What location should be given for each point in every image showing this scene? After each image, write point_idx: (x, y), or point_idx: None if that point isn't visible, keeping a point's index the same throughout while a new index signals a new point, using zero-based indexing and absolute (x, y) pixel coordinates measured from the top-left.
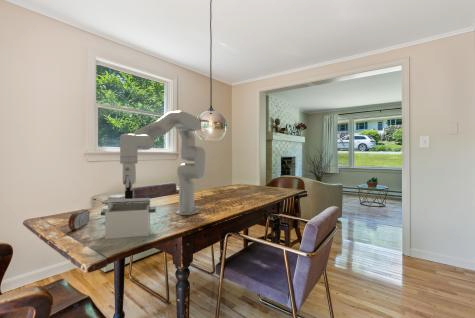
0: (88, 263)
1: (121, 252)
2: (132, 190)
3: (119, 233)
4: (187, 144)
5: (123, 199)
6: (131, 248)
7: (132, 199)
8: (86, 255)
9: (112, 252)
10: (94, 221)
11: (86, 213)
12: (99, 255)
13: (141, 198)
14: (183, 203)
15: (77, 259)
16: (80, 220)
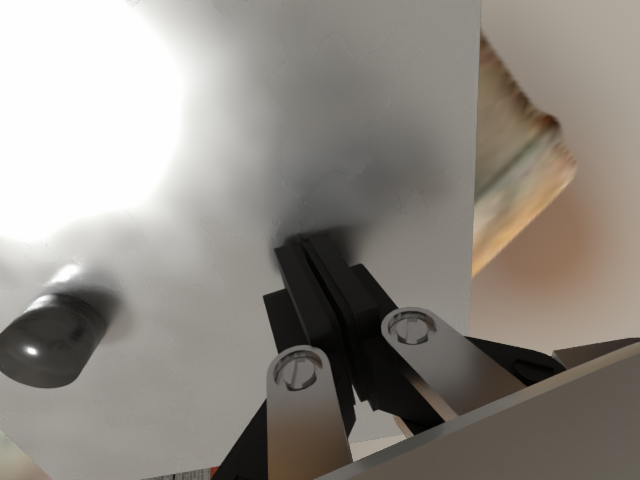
0: (566, 175)
1: (515, 88)
2: (330, 323)
3: None
4: None
5: (468, 281)
6: (484, 52)
7: (468, 178)
8: (499, 219)
9: (502, 131)
10: (23, 463)
11: None
12: (514, 171)
13: (476, 33)
14: None
15: (522, 229)
16: (164, 478)
